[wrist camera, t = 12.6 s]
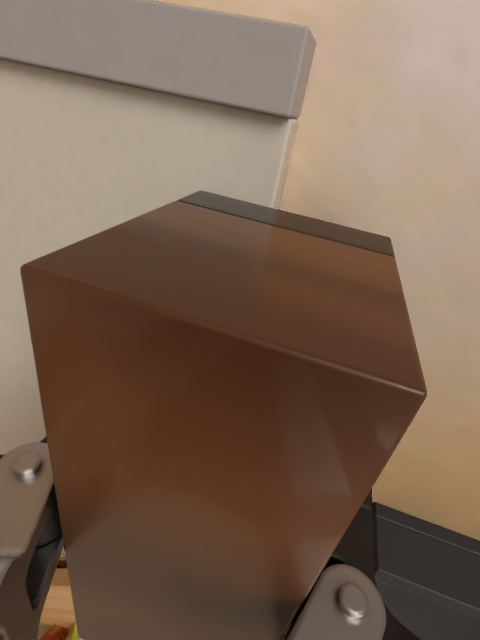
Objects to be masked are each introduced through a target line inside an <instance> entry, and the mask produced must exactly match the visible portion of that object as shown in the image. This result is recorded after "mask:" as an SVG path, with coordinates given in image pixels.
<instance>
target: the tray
mask: <svg viewBox="0 0 480 640" xmlns="http://www.w3.org/2000/svg"><path fill="white" fill-rule="evenodd" d="M372 514H373V553H374V577H375V582H376V586H377V588H378V591H379V593H380V595H381V598H382V600H383V601H384V603H385V605H386V606H387V608H388V609H389V611H390V612H391V613H392V615H393V616H394V617H395V618H396V619H397V620H398V621H399V622H400V623H401V624H402V625H403V626H405V627H406V628H407V629H408V630H409V631H411V632H412V633H413V634H414V635H416V636H417V637H418V638H419V639H421V640H480V541H477V540H474V539H472V538H469V537H466V536H464V535H461V534H458V533H456V532H453V531H450V530H448V529H445V528H442V527H439V526H437V525H434V524H431V523H429V522H426V521H423V520H421V519H418V518H415V517H413V516H410V515H407V514H404V513H402V512H399V511H396V510H394V509H391V508H388V507H386V506H383V505H380V504H378V503H375V504H374V506H373V508H372Z"/></svg>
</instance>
